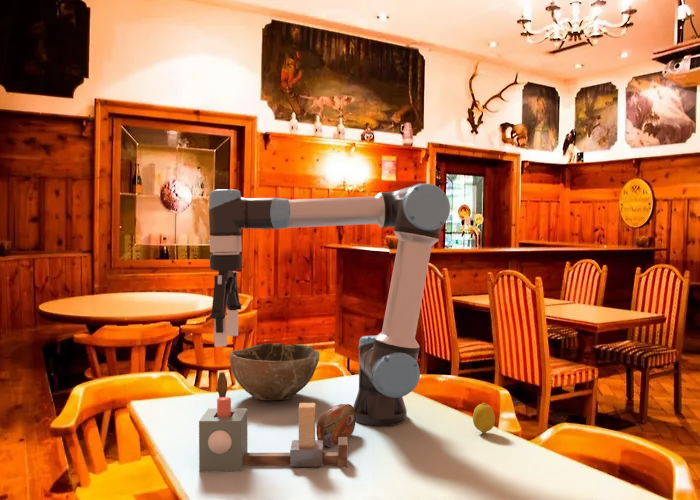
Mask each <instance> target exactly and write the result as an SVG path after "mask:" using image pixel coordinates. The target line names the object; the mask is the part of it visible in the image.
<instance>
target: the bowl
mask: <svg viewBox="0 0 700 500" xmlns="http://www.w3.org/2000/svg"><path fill="white" fill-rule="evenodd" d="M319 361H320V352H319V351H318V350H317V349H315V348H314V347H313V346H310V345H309V346H308V345H307V344H306V345H305V344H299V343H294V344H293V343H292V344H290V345H288V344H285V345H283V343H271V342H270V343H269V342H268V343H267V342H266V343H262V344H257V345H253V346H251V347H246V348H244V349H237V350H232V351H231V352H230V354H229V363H230V370H231V372H232V375H233V377H234V379H235V380H236V381H237V383H238V385H239V386H240V387H241V388H242V389H243V390H244V391H245V392H246V393H248V394H249V395H250V396H251V397H253V398H254V399H256V400H259V401H265V402H266V401H268V402H269V401H272V402H273V401H278V400H279V401H285V400H287V399H289V398H292V397H293V396H295V395H297V393H299V392H300V391H302V390H303V389H304V388H305V387H306V386H307V385H308V384H309V383H310V381H311V380H312V378H313V377H314V374H315V371H316V369H317V366H318V363H319ZM236 381H235V382H236Z"/></svg>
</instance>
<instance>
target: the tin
mask: <svg viewBox="0 0 700 500" xmlns="http://www.w3.org/2000/svg"><path fill="white" fill-rule="evenodd" d="M353 406H354V405H352V404H349V403H339V404H337V405H335V406H333V407H332V408H330V409H327V410H326V411H324V412H322V413H321V414H320V415H319V417H318V419H317V421H316V425H315V428H316V437H317V438H316V440H323V447H329V448H334V447H336V446H338V437H347V439H349V438H350V437H351V436H352V435H353V433H354V431H355V427H356V422H357V421H356V414H355V410H354V408H353Z"/></svg>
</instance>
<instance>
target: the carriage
mask: <svg viewBox="0 0 700 500" xmlns="http://www.w3.org/2000/svg"><path fill="white" fill-rule="evenodd" d="M323 452H324V446H323V440H317V439H316V403H315V402H299V405H298V440H297V439H292V441H291V445H290V450H289V453H290V465H289V467H309V468H310V467H323V465H322V456H323Z"/></svg>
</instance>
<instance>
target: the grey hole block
mask: <svg viewBox="0 0 700 500" xmlns="http://www.w3.org/2000/svg"><path fill="white" fill-rule="evenodd" d="M245 453H248V408H247V407H246V408H245V407H244V408H240V407H239V408H233V407H232V408H231V417H217V408H207V410H206V411H205V413H203V415H202V416H201V418H200V419H199V420H198V454H199V455H198V471H199V472H205V473H207V472H219V473H220V472H242V471H243V468H244V466H245V465H244V454H245Z"/></svg>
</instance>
